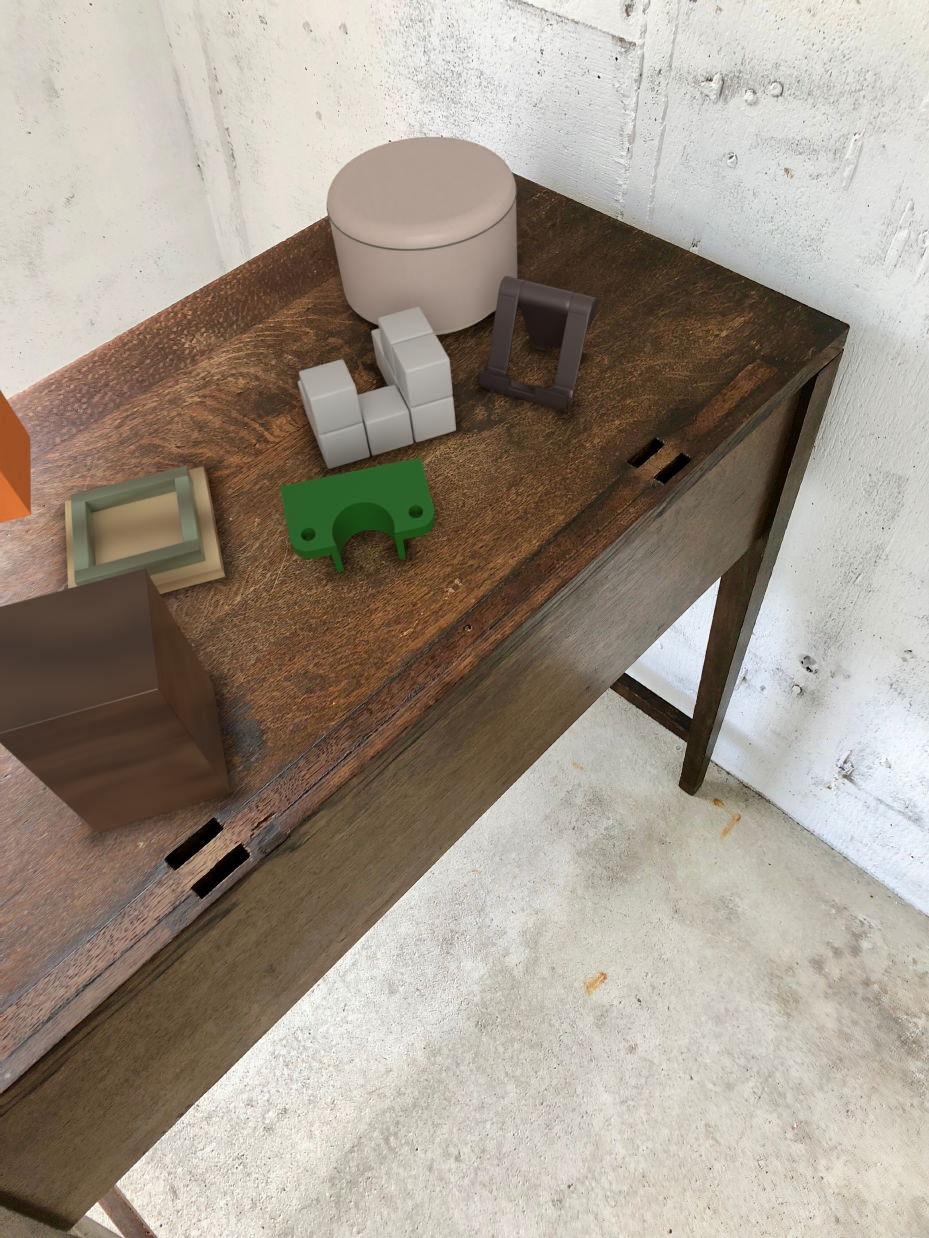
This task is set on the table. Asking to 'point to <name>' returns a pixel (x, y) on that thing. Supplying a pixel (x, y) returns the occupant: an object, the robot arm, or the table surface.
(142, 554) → the square tray
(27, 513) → the orange square block
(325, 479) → the clamp
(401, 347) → the gray cube puzzle piece
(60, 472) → the table surface
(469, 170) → the container
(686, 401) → the table surface
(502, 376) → the tablet stand
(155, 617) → the stand
